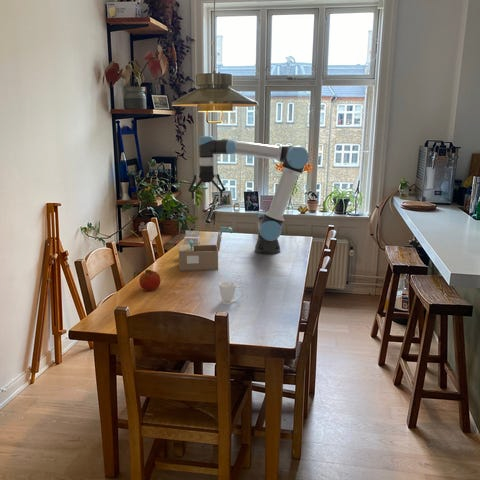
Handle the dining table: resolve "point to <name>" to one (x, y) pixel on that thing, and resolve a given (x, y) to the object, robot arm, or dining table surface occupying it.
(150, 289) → the fruit
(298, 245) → the dining table surface
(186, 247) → the flap
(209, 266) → the carton
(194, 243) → the ink box
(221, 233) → the flap
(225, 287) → the cup
